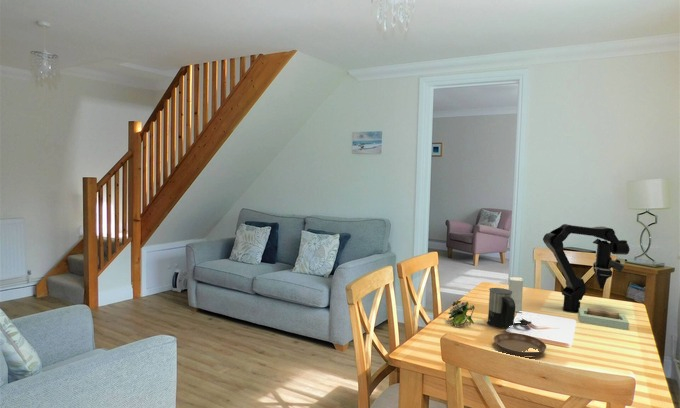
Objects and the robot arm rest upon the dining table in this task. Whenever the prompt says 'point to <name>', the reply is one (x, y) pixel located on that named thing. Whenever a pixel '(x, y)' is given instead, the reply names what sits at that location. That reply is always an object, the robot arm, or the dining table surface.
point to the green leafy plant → (460, 313)
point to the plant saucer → (519, 344)
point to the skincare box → (516, 291)
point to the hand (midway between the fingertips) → (600, 286)
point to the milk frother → (502, 309)
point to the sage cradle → (603, 320)
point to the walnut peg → (602, 313)
